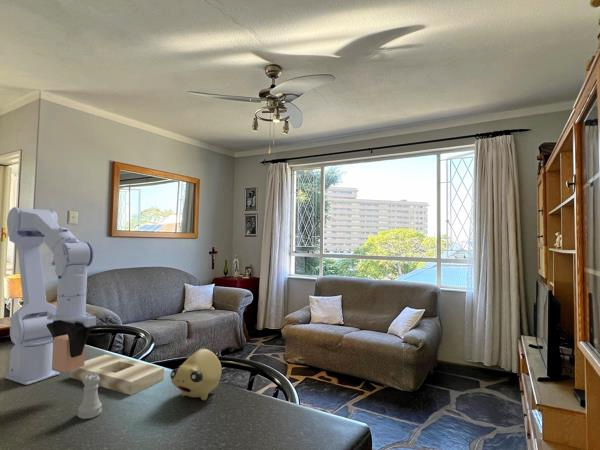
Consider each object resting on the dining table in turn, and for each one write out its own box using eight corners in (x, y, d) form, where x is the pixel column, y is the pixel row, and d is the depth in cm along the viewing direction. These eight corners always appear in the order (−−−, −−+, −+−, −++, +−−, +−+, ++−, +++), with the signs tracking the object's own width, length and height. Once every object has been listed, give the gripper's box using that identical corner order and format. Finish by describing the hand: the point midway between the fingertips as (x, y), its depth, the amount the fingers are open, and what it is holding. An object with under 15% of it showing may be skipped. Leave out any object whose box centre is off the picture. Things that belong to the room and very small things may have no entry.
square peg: (52, 368, 80) (54, 337, 80) (72, 362, 84) (73, 332, 84) (65, 372, 78) (66, 340, 78) (84, 365, 82) (85, 335, 82)
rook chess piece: (90, 421, 71) (92, 380, 71) (71, 418, 72) (73, 378, 72) (107, 410, 75) (108, 372, 75) (89, 408, 76) (90, 370, 76)
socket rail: (70, 377, 91) (70, 365, 92) (105, 365, 101) (105, 354, 101) (130, 395, 82) (131, 382, 82) (163, 379, 91) (164, 367, 92)
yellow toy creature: (160, 405, 78) (162, 356, 78) (192, 384, 89) (194, 341, 90) (199, 413, 75) (201, 362, 75) (227, 390, 86) (229, 345, 87)
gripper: (34, 294, 81) (31, 354, 81) (75, 300, 75) (72, 365, 75) (65, 290, 87) (62, 345, 87) (105, 295, 81) (103, 355, 81)
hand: (69, 354), depth 81 cm, fingers closed on square peg, 4 cm apart
